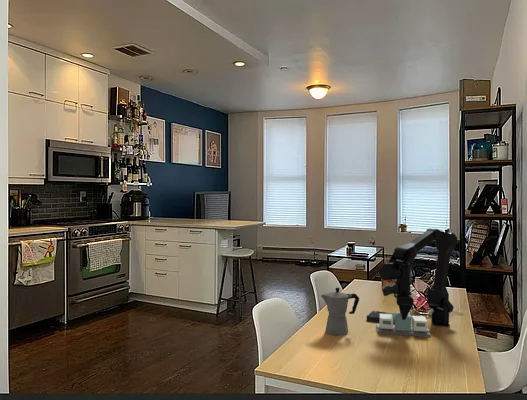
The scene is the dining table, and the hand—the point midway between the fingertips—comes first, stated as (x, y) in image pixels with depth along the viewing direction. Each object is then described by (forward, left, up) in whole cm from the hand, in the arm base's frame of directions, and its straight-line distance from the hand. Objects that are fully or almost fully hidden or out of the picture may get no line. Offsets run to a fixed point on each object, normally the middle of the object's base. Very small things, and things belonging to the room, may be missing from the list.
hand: (402, 316), depth 179 cm
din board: (0, 0, -6) cm, 6 cm away
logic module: (0, 0, -4) cm, 4 cm away
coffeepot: (+25, +7, -6) cm, 27 cm away
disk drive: (+5, -14, -7) cm, 17 cm away
